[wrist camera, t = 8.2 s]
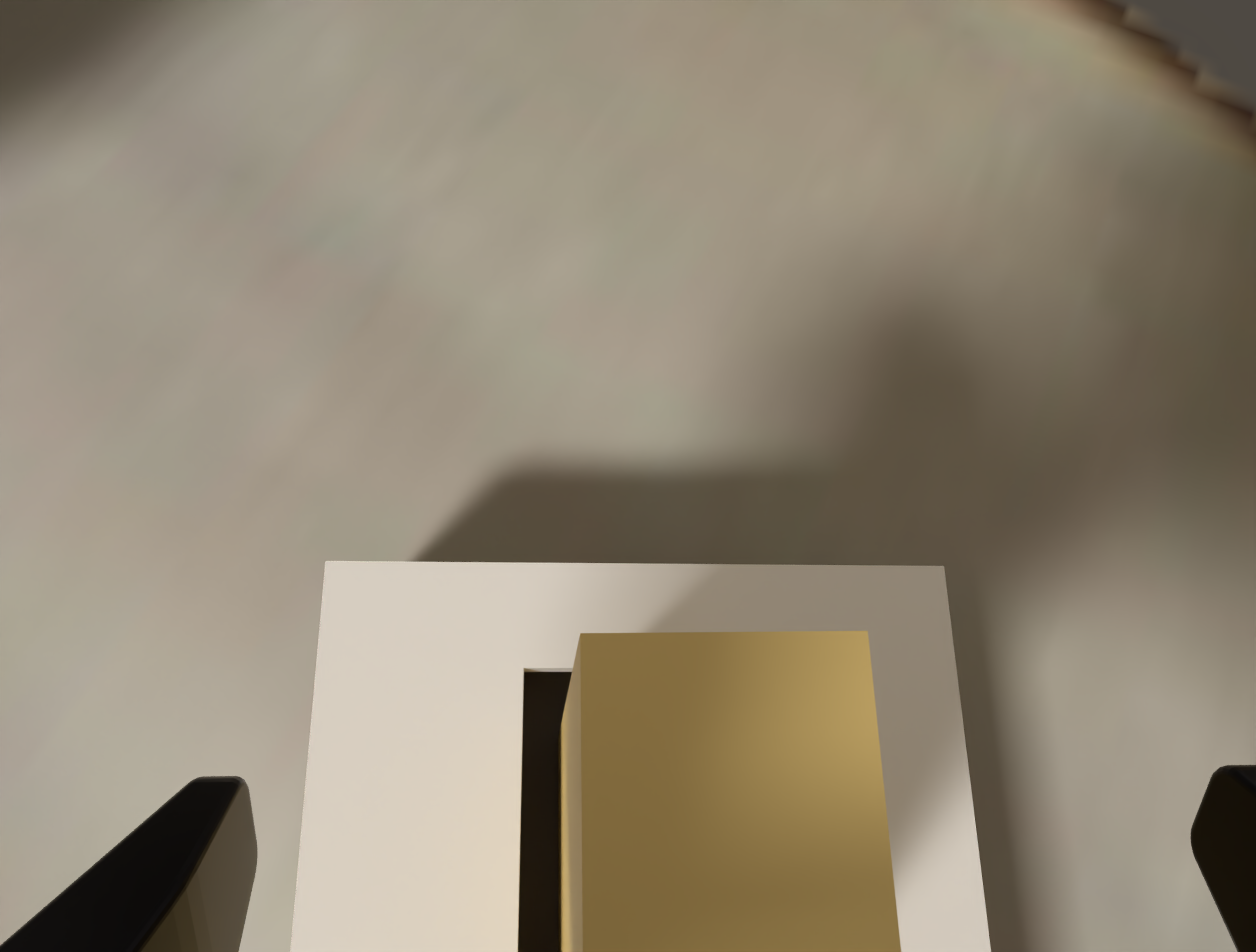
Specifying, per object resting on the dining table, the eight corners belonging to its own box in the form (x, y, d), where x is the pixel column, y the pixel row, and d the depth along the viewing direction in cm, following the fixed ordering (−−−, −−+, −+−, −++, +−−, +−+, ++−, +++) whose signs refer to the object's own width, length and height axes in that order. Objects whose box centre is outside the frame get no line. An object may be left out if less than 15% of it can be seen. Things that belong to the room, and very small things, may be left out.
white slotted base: (929, 1202, 20) (1034, 1304, 16) (318, 1231, 19) (254, 1347, 15) (872, 612, 24) (944, 565, 20) (365, 610, 23) (325, 561, 19)
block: (706, 1039, 20) (942, 1339, 8) (558, 1045, 20) (585, 1363, 8) (693, 734, 22) (868, 631, 10) (558, 736, 22) (579, 633, 10)
